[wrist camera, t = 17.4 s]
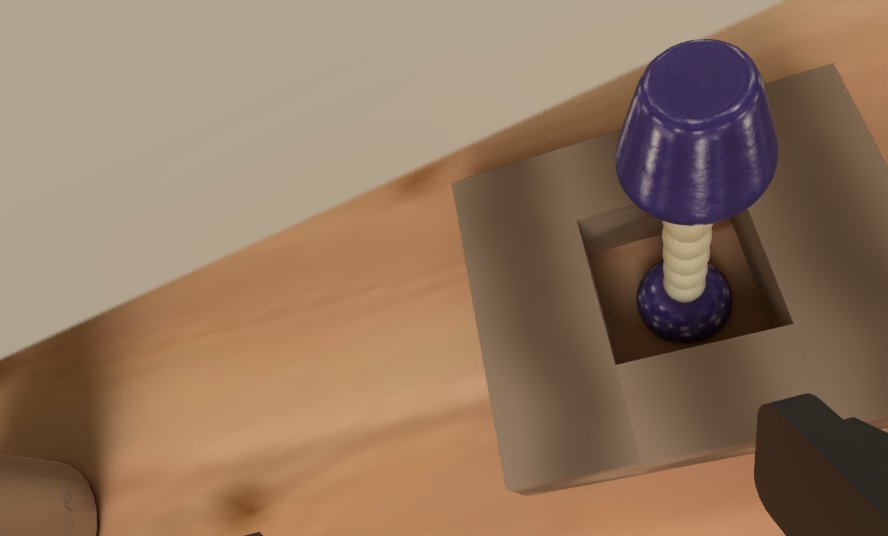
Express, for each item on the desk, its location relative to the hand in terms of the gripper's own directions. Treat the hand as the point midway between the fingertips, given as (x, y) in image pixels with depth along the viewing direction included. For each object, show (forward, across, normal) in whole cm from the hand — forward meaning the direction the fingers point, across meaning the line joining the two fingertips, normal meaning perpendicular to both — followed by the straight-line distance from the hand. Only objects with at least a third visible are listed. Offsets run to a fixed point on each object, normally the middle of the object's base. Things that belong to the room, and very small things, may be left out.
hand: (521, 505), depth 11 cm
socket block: (+18, -12, +9) cm, 24 cm away
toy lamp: (+18, -12, +9) cm, 24 cm away
